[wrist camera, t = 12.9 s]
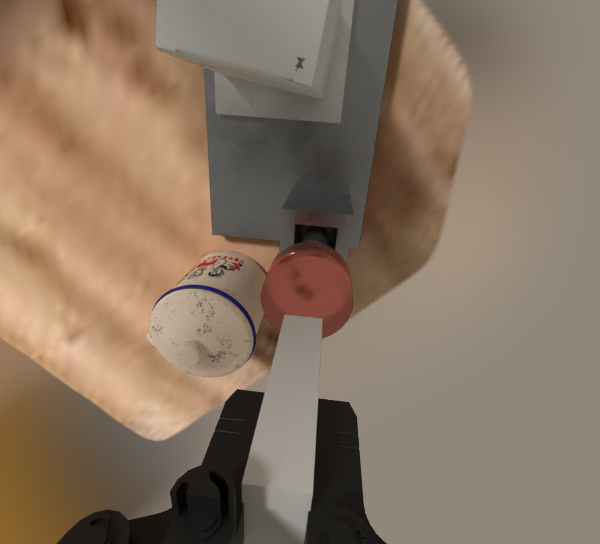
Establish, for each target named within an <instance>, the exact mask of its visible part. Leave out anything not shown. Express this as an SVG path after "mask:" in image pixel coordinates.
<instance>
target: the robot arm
mask: <svg viewBox="0 0 600 544" xmlns="http://www.w3.org/2000/svg"><path fill="white" fill-rule="evenodd" d="M322 322H323V319H320V318H311V317H302V316H293V315H284V319H283V323H282V327H281V331H280V335H279V339H278V343H277V346H276V350H275V354H274V358H273V362H272V366H271V370H270V374H269V378H268V382H267V386H266V390H265V393H263V392H254V391H247V390H239V389H237V390H236V391H235V392H234V393H233V394H232V395H231V396H230V398H229V399H228V400H227V401H226V402H225V405H224V408H223V410H222V413H221V416H220V419H219V421H218V423H217V426H216V428H215V432H214V434H213V436H212V439H211V441H210V444H209V447H208V449H207V452H206V454H205V457H204V460H203V462H202V465H201V466H198V467H195V468H193V469H191V470H188V471H187V472H186V473H185V474H184V475H183V476H181V477H180V478H179V479H178V480H177V481H176V483H175V485H174V486H173V488H172V489H171V491H170V496H171V502H172V508H170V509H169V510H167V511H164V512H161V513H158V514H154V515H150V516H145V517H141V518H136V519H132V520H127V519H126V518H125V517H124V516H123V515H122V514H121V513H120V512H118V511H113V510H104V511H99V512H94V513H93V514H91V515H89V516H87V517H85V518H84V519H82V520H80V521H79V522H78V523H77V524H76V525H74V526H73V527H72V528H71V529H70V530H69V531H68V532H67V533H66V534H65V535H64V536H63V537H62V539H61V540H60V541H59V542H58V543H57V544H386V543H385V542H384V541H383V540H382V539H381V538H380V537H379V536H378V535H377V534H376V533H375V531H374V530H373V528H372V527H371V525H370V524H369V521H368V519H367V516H366V514H365V509H364V503H363V491H362V477H361V465H360V452H359V439H358V426H357V416H356V415H355V413H354V411H353V409H352V407H351V405H350V403H349V402H342V401H334V400H326V399H318V393H319V375H320V357H321V340H322Z"/></svg>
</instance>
